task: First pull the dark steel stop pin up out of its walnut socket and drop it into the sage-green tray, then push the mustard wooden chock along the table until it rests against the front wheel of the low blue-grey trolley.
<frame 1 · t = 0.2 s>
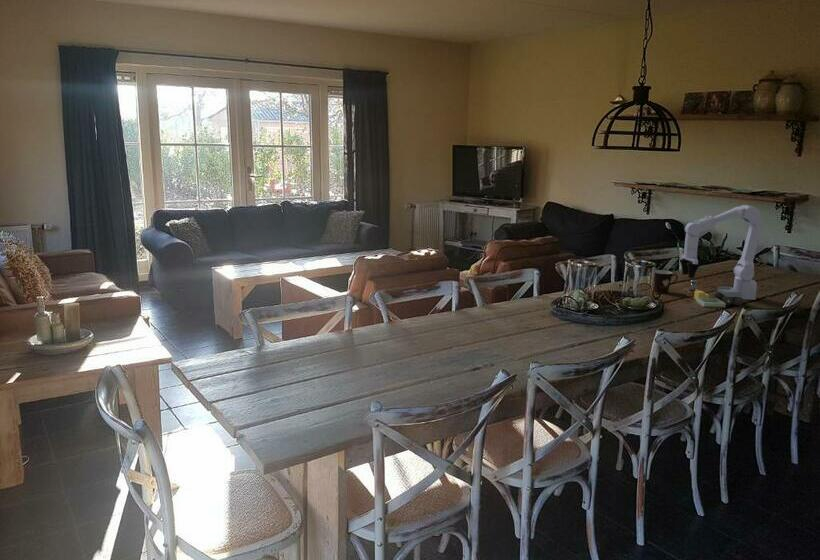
hand: (688, 276, 314), 10 cm above the table, fingers open, 7 cm apart
chock: (701, 300, 310), on the table
tray: (710, 304, 300), on the table
coffee mug: (664, 292, 324), on the table
pin socket: (692, 294, 319), on the table
stop pin: (693, 287, 318), in the pin socket
trolley: (727, 302, 305), on the table
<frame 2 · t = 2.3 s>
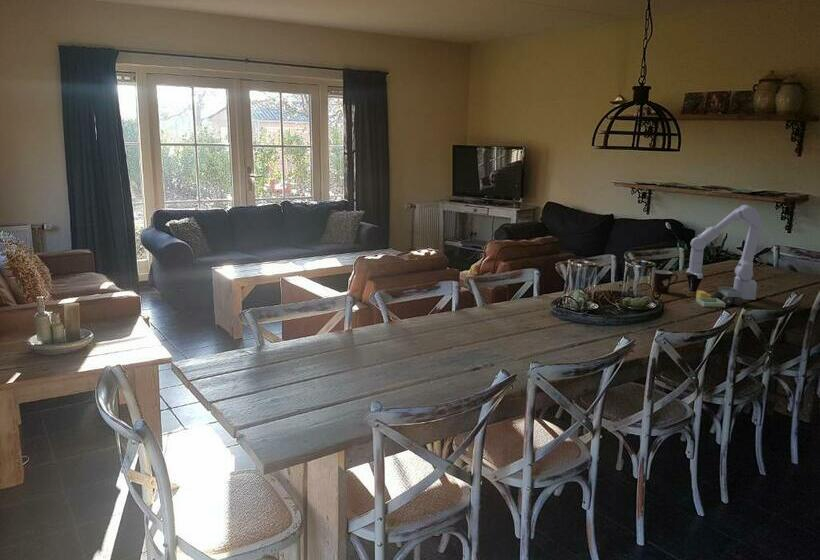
hand: (693, 289, 318), 2 cm above the table, fingers closed on stop pin, 3 cm apart
stop pin: (693, 287, 318), in the pin socket, touching gripper
everything else where it was.
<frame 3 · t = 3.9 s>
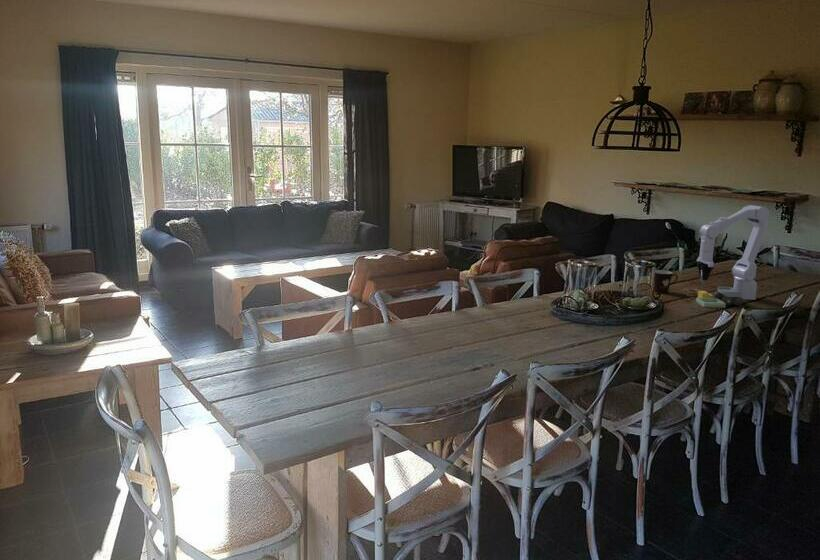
hand: (703, 279, 307), 10 cm above the table, fingers closed on stop pin, 3 cm apart
stop pin: (703, 277, 307), point 11 cm above the table, touching gripper
when the fingers open (4 cm above the table, at t = 5.6 s): stop pin stays where it is, resting on tray.
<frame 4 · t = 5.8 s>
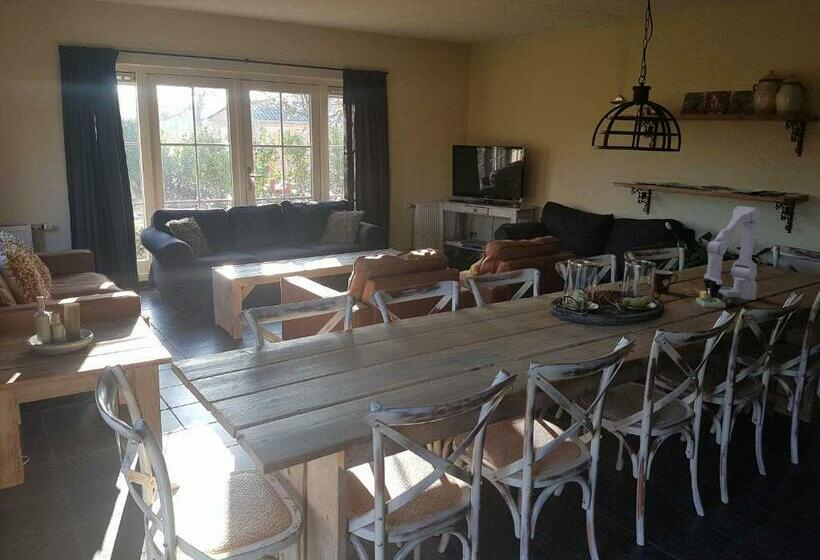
hand: (711, 296, 299), 4 cm above the table, fingers open, 4 cm apart
stop pin: (710, 296, 300), in the tray
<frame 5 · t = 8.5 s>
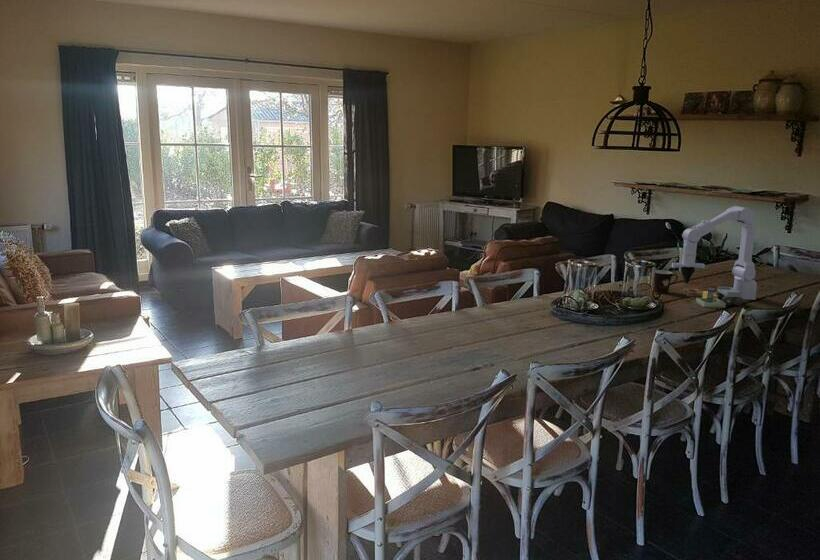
hand: (686, 282, 308), 8 cm above the table, fingers closed
chock: (709, 300, 309), on the table
everything else where it was.
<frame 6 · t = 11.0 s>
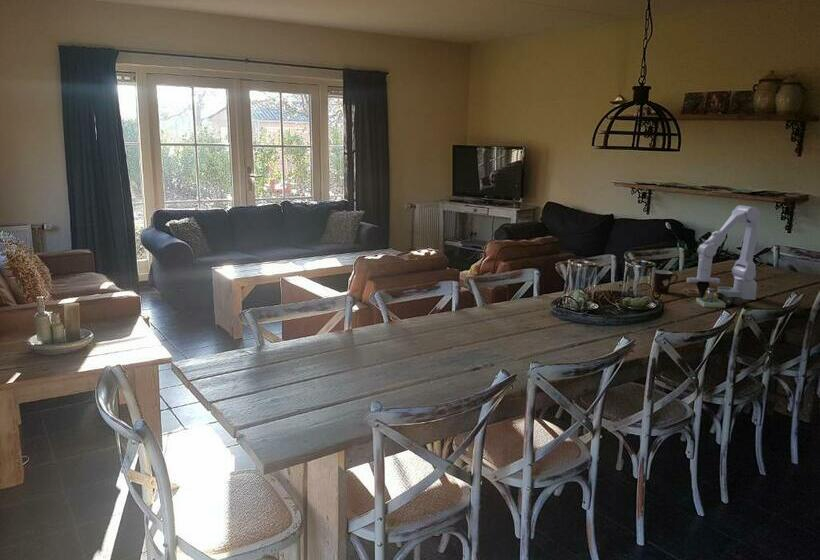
hand: (701, 297, 309), 1 cm above the table, fingers closed
chock: (709, 300, 308), on the table, touching gripper, trolley
everything else where it was.
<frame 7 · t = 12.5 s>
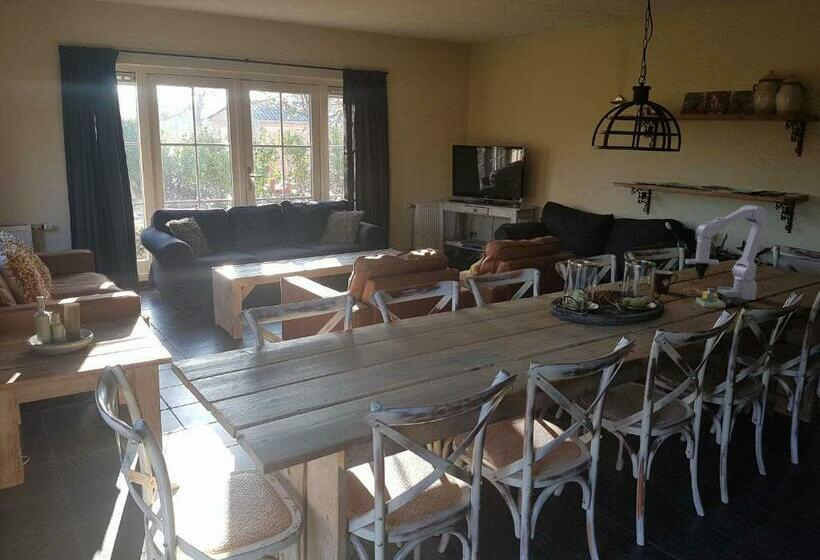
hand: (700, 279, 307), 10 cm above the table, fingers closed
chock: (709, 300, 308), on the table
everything else where it was.
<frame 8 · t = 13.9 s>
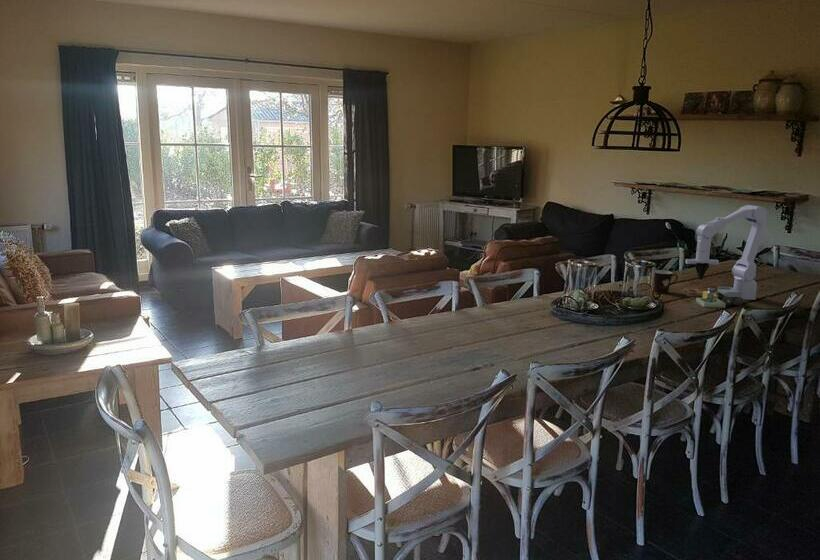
hand: (700, 279, 307), 10 cm above the table, fingers closed
nothing on the table moved.
at the end: stop pin inside the target area on the tray (0.5 cm from its centre), point 4.0 cm above the tray's base; chock 1.0 cm from the target spot, on the table; the gripper is holding nothing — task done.
